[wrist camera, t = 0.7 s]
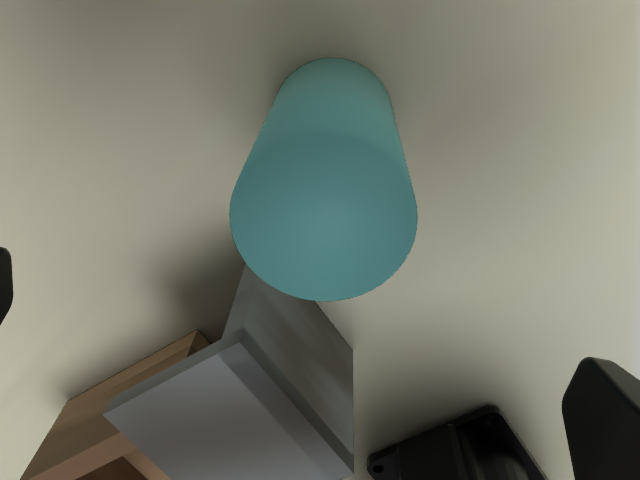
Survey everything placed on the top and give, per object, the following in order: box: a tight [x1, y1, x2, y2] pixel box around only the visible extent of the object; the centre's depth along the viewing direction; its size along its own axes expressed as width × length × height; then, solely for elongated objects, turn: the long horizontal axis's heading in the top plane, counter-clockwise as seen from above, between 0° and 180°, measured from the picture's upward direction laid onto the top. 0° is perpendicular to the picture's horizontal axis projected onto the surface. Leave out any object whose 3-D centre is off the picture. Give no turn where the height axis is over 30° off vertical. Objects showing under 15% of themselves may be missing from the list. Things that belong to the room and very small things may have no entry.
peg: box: [229, 58, 417, 301], centre depth 16 cm, size 4×4×8 cm
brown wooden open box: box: [20, 264, 354, 480], centre depth 22 cm, size 9×12×6 cm
